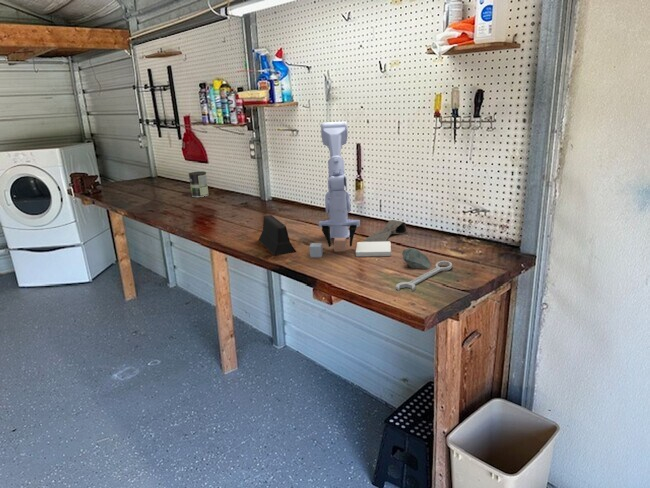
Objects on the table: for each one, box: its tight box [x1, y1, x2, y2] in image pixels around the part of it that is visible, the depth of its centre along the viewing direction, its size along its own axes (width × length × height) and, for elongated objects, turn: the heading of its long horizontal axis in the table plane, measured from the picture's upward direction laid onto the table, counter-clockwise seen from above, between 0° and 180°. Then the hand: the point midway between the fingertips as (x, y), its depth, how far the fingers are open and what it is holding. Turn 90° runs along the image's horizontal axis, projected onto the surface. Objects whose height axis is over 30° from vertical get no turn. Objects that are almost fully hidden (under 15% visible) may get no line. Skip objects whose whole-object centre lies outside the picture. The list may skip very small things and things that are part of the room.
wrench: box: [395, 260, 453, 292], centre depth 141 cm, size 26×5×2 cm, turn 135°
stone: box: [401, 247, 432, 270], centre depth 153 cm, size 11×4×10 cm
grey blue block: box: [308, 242, 324, 258], centre depth 166 cm, size 4×4×4 cm
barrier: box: [258, 214, 297, 257], centre depth 180 cm, size 24×9×10 cm, turn 22°
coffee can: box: [188, 171, 210, 198], centre depth 288 cm, size 10×10×14 cm
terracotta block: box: [333, 238, 347, 252], centre depth 171 cm, size 4×4×4 cm
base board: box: [355, 240, 392, 257], centre depth 168 cm, size 12×12×2 cm
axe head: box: [362, 219, 408, 242], centre depth 184 cm, size 21×5×10 cm
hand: (340, 245), depth 171 cm, fingers open, 7 cm apart
